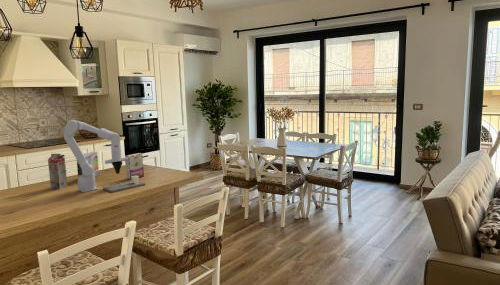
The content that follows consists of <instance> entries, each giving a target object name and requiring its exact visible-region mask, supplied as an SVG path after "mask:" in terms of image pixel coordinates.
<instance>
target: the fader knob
mask: <svg viewBox="0 0 500 285" xmlns="http://www.w3.org/2000/svg"><path fill="white" fill-rule="evenodd" d="M130 180H131V181H132V183H139V182H140V177H139V176H131V179H130Z"/></svg>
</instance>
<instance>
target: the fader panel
mask: <svg viewBox="0 0 500 285" xmlns="http://www.w3.org/2000/svg"><path fill="white" fill-rule="evenodd" d="M143 186H146V183H145V182H142V181H139V183H132V180H131V181H126V182H122V183H116V184H112V185H107V186H103V187H102V189H103V190H105V191H106V192H109V193H112V194H113V193H117V192H122V191H126V190H129V189H133V188H134V189H135V188H140V187H143Z"/></svg>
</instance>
